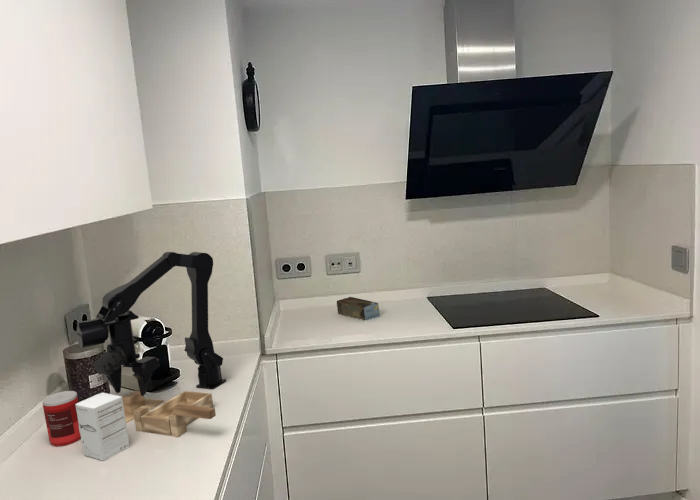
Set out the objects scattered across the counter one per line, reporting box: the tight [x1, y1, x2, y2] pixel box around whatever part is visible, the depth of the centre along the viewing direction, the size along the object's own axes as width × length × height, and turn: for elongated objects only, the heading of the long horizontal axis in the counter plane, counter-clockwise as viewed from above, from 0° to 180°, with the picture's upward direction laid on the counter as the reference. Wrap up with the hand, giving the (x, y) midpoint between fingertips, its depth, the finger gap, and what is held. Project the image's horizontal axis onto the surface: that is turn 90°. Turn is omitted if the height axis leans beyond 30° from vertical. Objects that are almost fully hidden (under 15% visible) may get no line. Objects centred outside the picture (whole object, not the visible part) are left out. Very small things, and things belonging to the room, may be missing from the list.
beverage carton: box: [336, 296, 380, 321], centre depth 227 cm, size 8×19×7 cm, turn 37°
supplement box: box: [75, 392, 130, 462], centre depth 127 cm, size 7×7×13 cm
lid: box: [122, 390, 165, 425], centre depth 149 cm, size 16×9×5 cm, turn 156°
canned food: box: [42, 390, 81, 447], centre depth 136 cm, size 8×8×11 cm
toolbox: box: [133, 390, 215, 438], centre depth 141 cm, size 16×14×5 cm
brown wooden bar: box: [172, 404, 217, 420], centre depth 130 cm, size 2×11×2 cm, turn 65°
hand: (130, 394), depth 150 cm, fingers open, 9 cm apart
